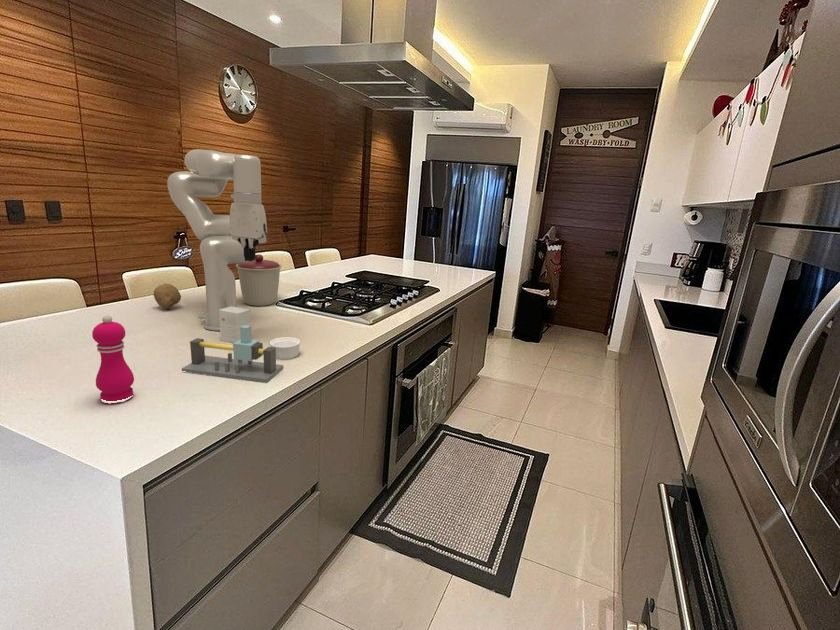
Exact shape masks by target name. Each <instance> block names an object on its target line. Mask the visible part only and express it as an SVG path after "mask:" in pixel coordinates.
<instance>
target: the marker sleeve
mask: <svg viewBox="0 0 840 630" xmlns="http://www.w3.org/2000/svg"><path fill="white" fill-rule="evenodd" d="M251 331H252V325H251V326H248V325H243V326H241V327H240V337H241V339H240V340H238V341H237V342H235V343H232V345H233V351H232V352H233V353H232V354H233V359H237V360H245V361H255V360H254V359H252V346H253V345H255V344H257V343H258V342H260V340H258V339H253V337H252V338H251Z"/></svg>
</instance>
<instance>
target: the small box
mask: <svg viewBox="0 0 840 630" xmlns="http://www.w3.org/2000/svg"><path fill="white" fill-rule="evenodd" d="M251 317H252V315H251V309H249V308H244V307H233V306H230V307H227V308H223V309H220V310H219V321H220V332H219V334H220V341H223V342H227V343H232V344H233V343H235V342H237V341H238V340H240V339H241V337H240V327H241V326H243V325H248V326H251V327H252V318H251ZM252 332H253V330H251V338H252V339H253V333H252Z"/></svg>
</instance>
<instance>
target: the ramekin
mask: <svg viewBox="0 0 840 630" xmlns="http://www.w3.org/2000/svg"><path fill="white" fill-rule="evenodd" d="M300 345H301V340H300V339H299V338H296V337H292V336H291V337H290V336H286V337H277V338H273V339H271V340H270V341H269V347H275V348H276V360H277V359H278V360H290V359H293V358H294V359H295V358H296V357H297V356H299V354H300Z"/></svg>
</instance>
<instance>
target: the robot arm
mask: <svg viewBox="0 0 840 630" xmlns="http://www.w3.org/2000/svg"><path fill="white" fill-rule="evenodd" d="M184 165H185V167H186V168H187V170H188V171H186V170H184V171H183V170H182V171H176V172H173V173H171V174H170V175H169V176H168V178H167V183H166V184H167V189H168V193H169V196H170V198H171V201H172V202H173V204H174V205H175V206H176V208H177V209H178V210H179V211H180V212H181V213H182V214H183V215H184V217H185V218H186V219H185V220H186V221H187V223H188V224H189V226H190V228H191V229H192V232H193V234H194V235H195V236H196V238H197V239H198V240H199V241H201V242H200V244H199V251H200V256H201V260H202V263H203V271H204V281H205V296H206V311H207V312H205V311H199V313H198V316H197V318H198V319H202V320H204V322H203V323H202V325H203V328H204V329H206V330H208V331H216V332H217V331H218V332H219V331H220V321H219V310H220V309H223V308H227V307H230V306H233V307H237V306H238V305H237V286H236V275H235V274H234V272H233V271H232V270H231V269H230V268H229V266H228V265H231V264H233V265H234V264H239V263H246V262H250V261H253V260H255V257H256V255H257V253H256V248H257V247H258V245H260V244H265V243H266V242H267V236H268V226H267V216H266V211H265V207H264V204H262V175H261V173H262V170H261V169H262V168H261V167H262V165H261V159H260V157H258V156H255V155H250V154H249V155H248V154H238V153H237V154H236V153H229V152H222V151H217V150H214V149H198V148H197V149H195V148H194V149H192V150H189V151H188V152H187V153H186V154H185V156H184ZM228 181H233V193H231V194H230V199H232V200H233V201H234V202H231V205H230V210H229V215H228V214H214V213H213V212H212V210H211V209H210V206H208V205H207V204H206V203H205V202H204V201H202V200H201V199H199V197H201V198H217V197H219V196H220V195H222V193H223V192H224V189H225V188H226V185H227V183H228Z"/></svg>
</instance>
